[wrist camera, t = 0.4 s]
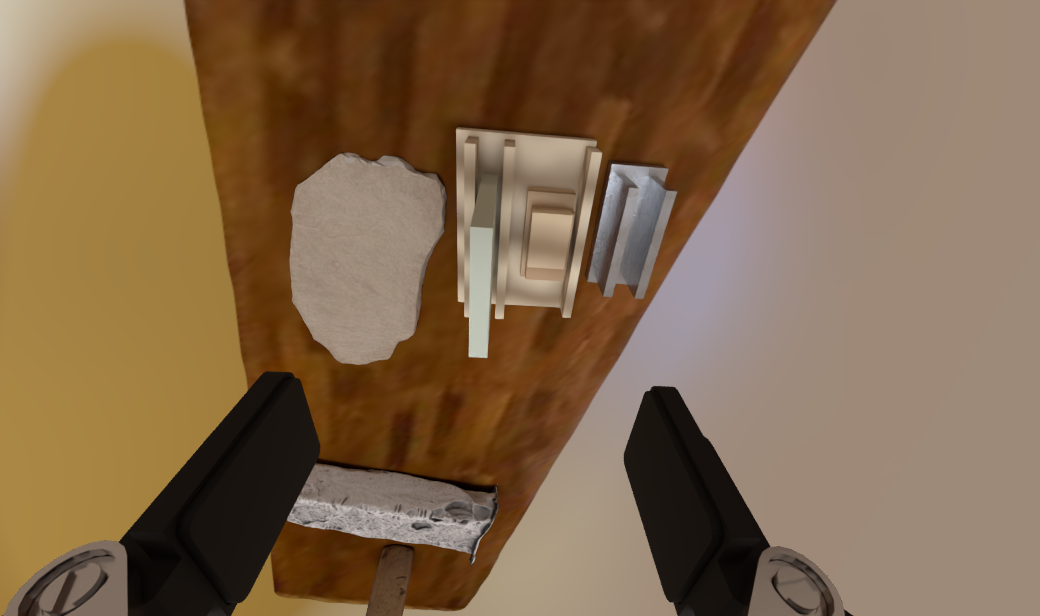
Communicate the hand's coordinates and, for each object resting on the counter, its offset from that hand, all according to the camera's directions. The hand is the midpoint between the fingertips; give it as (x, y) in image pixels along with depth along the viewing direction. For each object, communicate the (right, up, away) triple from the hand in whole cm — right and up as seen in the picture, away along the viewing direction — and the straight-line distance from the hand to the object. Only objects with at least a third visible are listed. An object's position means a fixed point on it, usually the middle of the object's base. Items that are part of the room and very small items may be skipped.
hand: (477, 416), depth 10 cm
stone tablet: (-18, +8, +36) cm, 41 cm away
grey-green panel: (-2, +12, +31) cm, 34 cm away
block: (-28, -55, +77) cm, 99 cm away
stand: (+13, +13, +33) cm, 38 cm away
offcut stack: (+4, +12, +32) cm, 34 cm away
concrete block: (-24, -32, +63) cm, 74 cm away
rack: (+1, +13, +33) cm, 35 cm away
